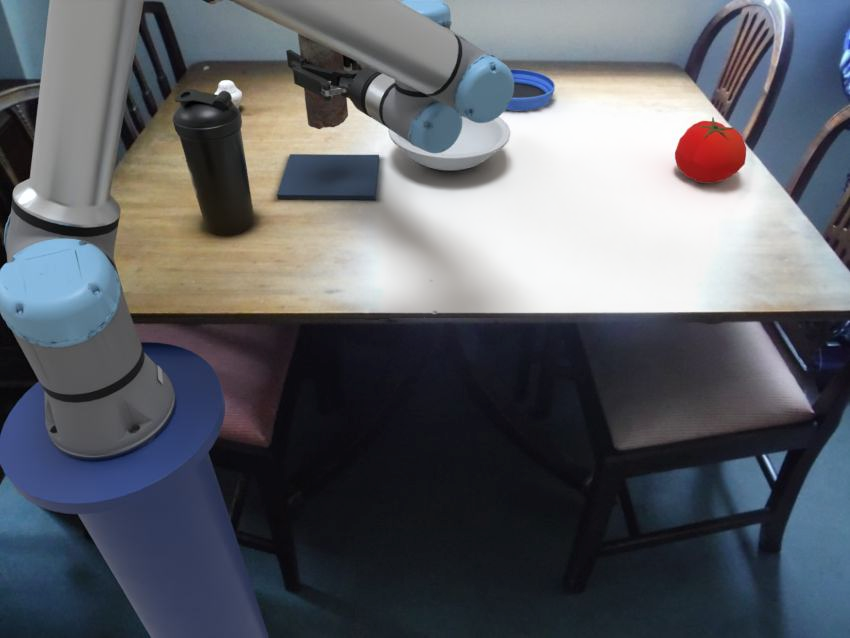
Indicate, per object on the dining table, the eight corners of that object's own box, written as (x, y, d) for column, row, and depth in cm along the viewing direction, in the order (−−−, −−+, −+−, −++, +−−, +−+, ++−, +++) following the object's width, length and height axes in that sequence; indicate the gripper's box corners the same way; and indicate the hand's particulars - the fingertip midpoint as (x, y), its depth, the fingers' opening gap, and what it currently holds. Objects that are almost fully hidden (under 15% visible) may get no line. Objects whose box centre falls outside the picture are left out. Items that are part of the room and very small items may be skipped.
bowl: (530, 79, 167) (531, 64, 165) (566, 106, 155) (569, 91, 152) (465, 88, 162) (466, 74, 160) (497, 117, 150) (499, 102, 147)
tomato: (662, 159, 135) (675, 110, 128) (722, 160, 135) (739, 110, 128) (681, 193, 125) (696, 141, 118) (746, 193, 125) (765, 142, 118)
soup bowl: (527, 152, 137) (531, 121, 133) (470, 202, 122) (473, 170, 117) (429, 124, 147) (430, 95, 142) (365, 167, 131) (363, 136, 127)
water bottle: (209, 206, 119) (179, 80, 104) (265, 208, 119) (243, 82, 104) (192, 238, 112) (157, 107, 97) (252, 240, 112) (226, 109, 96)
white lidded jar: (216, 106, 152) (210, 76, 148) (243, 103, 154) (238, 73, 149) (218, 117, 148) (211, 86, 143) (245, 114, 149) (240, 84, 145)
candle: (319, 111, 123) (306, -4, 110) (355, 116, 122) (346, 0, 108) (300, 128, 118) (285, 9, 105) (338, 133, 116) (327, 13, 103)
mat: (277, 199, 122) (276, 194, 121) (290, 158, 134) (289, 154, 133) (375, 200, 122) (375, 195, 121) (379, 159, 134) (379, 154, 133)
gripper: (329, 136, 99) (260, 87, 113) (434, 104, 109) (358, 62, 122) (324, 87, 94) (253, 42, 108) (435, 57, 104) (356, 20, 117)
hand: (309, 53), depth 115 cm, fingers closed on candle, 7 cm apart
